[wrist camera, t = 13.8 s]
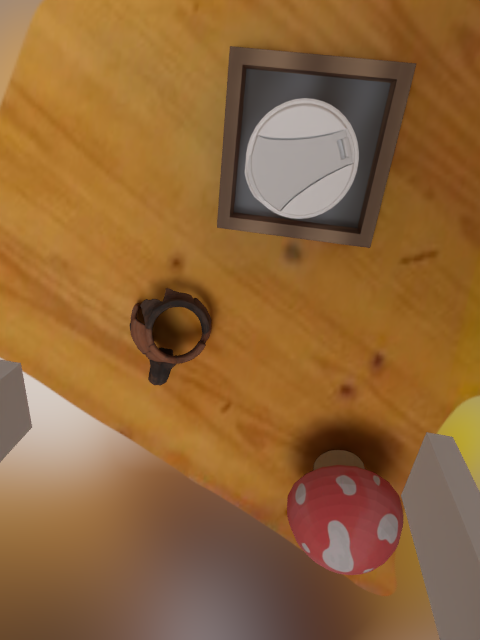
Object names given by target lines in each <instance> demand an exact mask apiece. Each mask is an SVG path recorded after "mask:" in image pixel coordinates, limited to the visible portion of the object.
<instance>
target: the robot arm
mask: <svg viewBox="0 0 480 640" xmlns="http://www.w3.org/2000/svg"><path fill="white" fill-rule="evenodd" d="M31 428H32V424H31V419H30V414H29V407H28V402H27V396H26V390H25V385H24V379H23V374H22V368H21V363H17V362H11V361H5V360H0V462H1V461H2V460H3V458H4V457H5V456H6V455H7V454H8V453H9V452H10V451H11V450H12V448H13V447H14V446H15V445H16V444H17V443H18V442H19V441H20V440H21V439H22V438H23V436H25V434H26V433H27V432H28V431H29V430H30V429H31ZM401 496H402V500H403V504H404V508H405V511H406V515H407V519H408V522H409V526H410V529H411V534H412V537H413V541H414V545H415V549H416V552H417V556H418V560H419V563H420V567H421V571H422V575H423V578H424V582H425V586H426V590H427V593H428V597H429V601H430V605H431V608H432V611H433V616H434V619H435V623H436V627H437V631H438V634H439V638H440V640H480V492H479V490H478V488H477V486H476V484H475V482H474V480H473V478H472V476H471V474H470V472H469V469H468V467H467V465H466V463H465V461H464V459H463V457H462V455H461V453H460V451H459V449H458V447H457V445H456V443H455V441H454V439H453V437H450V436H444V435H439V434H433V433H426V435H425V438H424V440H423V443H422V445H421V448H420V450H419V453H418V455H417V458H416V460H415V463H414V465H413V468H412V470H411V473H410V475H409V477H408V480H407V482H406V485H405V487H404V490H403V492H402V495H401Z"/></svg>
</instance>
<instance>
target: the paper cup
mask: <svg viewBox="0 0 480 640" xmlns="http://www.w3.org/2000/svg"><path fill="white" fill-rule="evenodd" d="M358 162H359V149H358V142H357V138H356V135H355V132H354V130H353V128H352V126H351V124H350V123H349V121H348V120H347V118H346V117H345V116H344V115H343V114H342V113H341V112H340V111H339V110H338V109H336V108H335V107H333V106H332V105H330V104H328V103H326V102H323V101H320V100H316V99H308V98H302V99H294V100H291V101H287V102H285V103H283V104H281V105H279V106H277V107H275V108H274V109H272V110H271V111H270V112H268V113H267V114H266V115H265V116H264V117H263V118H262V119H261V121H260V122H259V123H258V125H257V126H256V127H255V129H254V131H253V133H252V135H251V137H250V140H249V143H248V147H247V152H246V163H245V177H246V181H247V184H248V186H249V189H250V191H251V192H252V194H253V196H254V197H255V198H256V199H257V200H259V201H260V202H261V203H262V204H263V205H264V206H266V207H267V208H268V209H269V210H271V211H273V212H274V213H276V214H278V215H281V216H284V217H288V218H294V219H304V218H310V217H315V216H317V215H320V214H322V213H324V212H326V211H328V210H330V209H331V208H332V207H334V206H335V205H336V204H337V203H339V201H340V200H341V199H342V198H343V197H344V196H345V195H346V193H347V192H348V190H349V189H350V187H351V185H352V183H353V181H354V178H355V175H356V172H357V168H358Z"/></svg>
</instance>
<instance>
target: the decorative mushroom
mask: <svg viewBox="0 0 480 640" xmlns="http://www.w3.org/2000/svg"><path fill="white" fill-rule="evenodd" d="M287 514H288V520H289V524H290V526H291V529H292V531H293V534H294V536H295V538H296V541H297V543H298V544H299V546H300V547H301V548H302V549H303V551H304V552H305V553H306V554H307V555H308V556H309V557H310V558H311V559H312V560H313V561H314V562H316V563H318V564H319V565H321V566H323V567H325V568H326V569H327V570H330V571H333V572H336V573H339V574H347V575H356V574H363V573H367V572H370V571H372V570H374V569H376V568H377V567H379V566H380V565H382V564H384V563H385V562H386V561H387V559H388V558H389V557H390V556H391V555H392V553H393V552H394V551H395V549H396V547H397V545H398V543H399V539H400V535H401V531H402V527H403V512H402V507H401V503H400V499H399V495H398V494H397V492H396V491H395V490H394V489H393V487H392V486H391V485H390V483H389V482H388V481H386V480H385V479H383V478H382V477H380V476H379V475H377V474H376V473H374V472H371V471H368V470H365V468H364V464H363V462H362V461H361V460H360V458H359V457H357V456H356V455H355V454H353V453H351V452H348V451H345V450H332V451H328V452H326V453H323V454H322V455H321V456H319V457H318V458H317V459H316V461H315V463H314V470H313V471H311V472H309V473H307V474H305V475H304V476H303V477H302V478H300V479H299V480H298V481H297V482H296V483H294V485H293V487H292V489H291V491H290V493H289V495H288V502H287Z"/></svg>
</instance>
